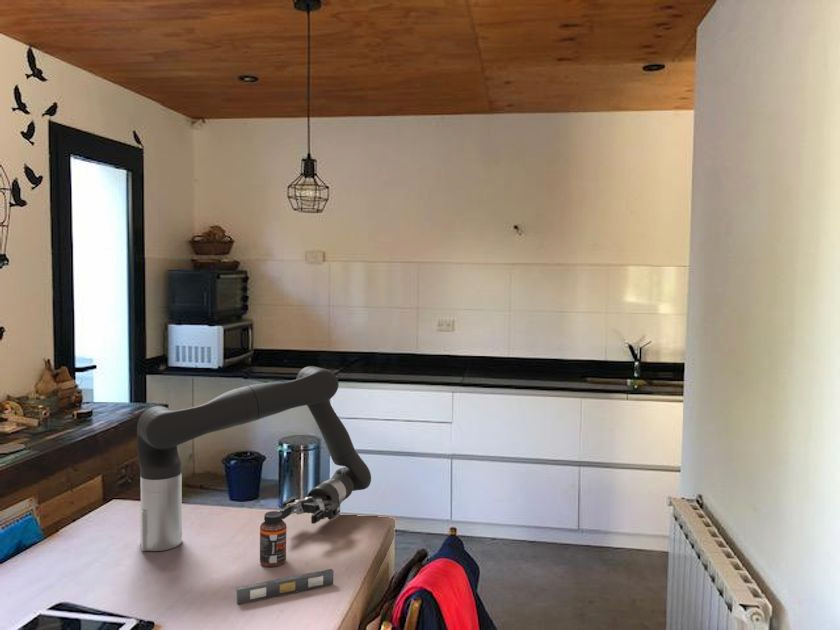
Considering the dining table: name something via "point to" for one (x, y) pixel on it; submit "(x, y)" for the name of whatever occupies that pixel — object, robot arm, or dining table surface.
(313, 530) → the dining table surface
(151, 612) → the dining table surface
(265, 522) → the supplement bottle
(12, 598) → the dining table surface
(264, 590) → the rail
